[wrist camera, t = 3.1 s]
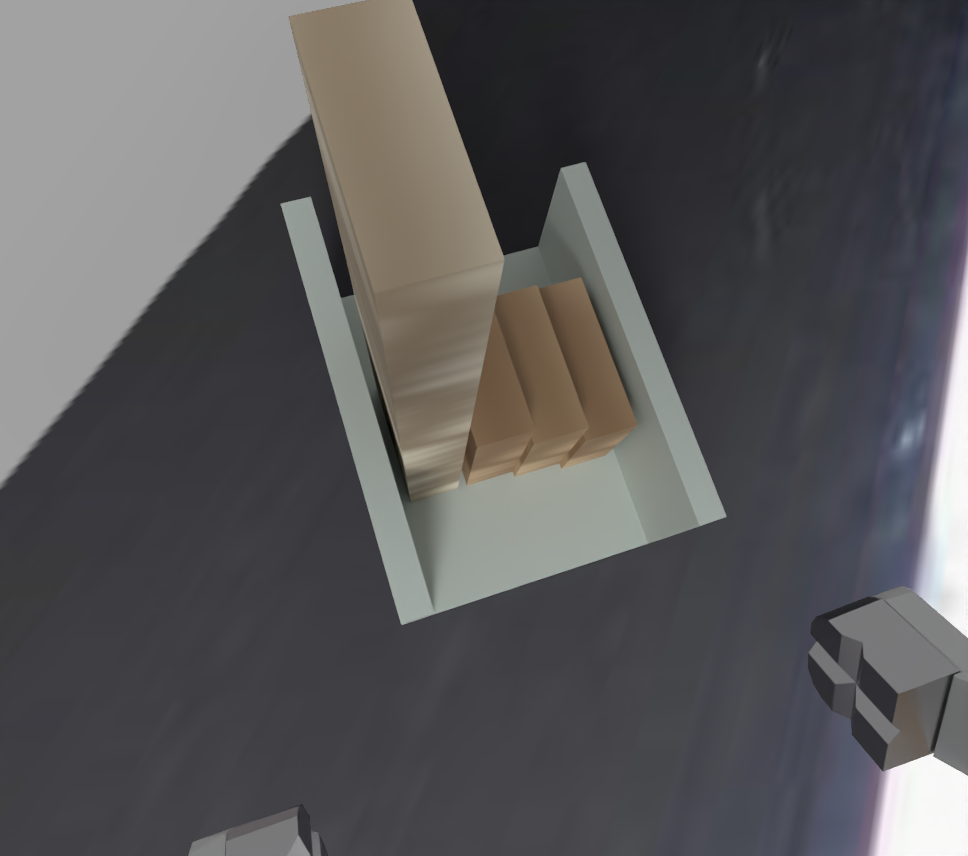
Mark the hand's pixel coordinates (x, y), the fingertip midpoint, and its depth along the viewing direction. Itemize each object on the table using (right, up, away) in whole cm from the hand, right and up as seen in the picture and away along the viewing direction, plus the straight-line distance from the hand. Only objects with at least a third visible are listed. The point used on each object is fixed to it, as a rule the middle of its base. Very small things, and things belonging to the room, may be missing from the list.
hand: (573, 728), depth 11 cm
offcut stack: (0, +5, +20) cm, 21 cm away
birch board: (-4, +4, +20) cm, 20 cm away
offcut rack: (-1, +5, +21) cm, 22 cm away
